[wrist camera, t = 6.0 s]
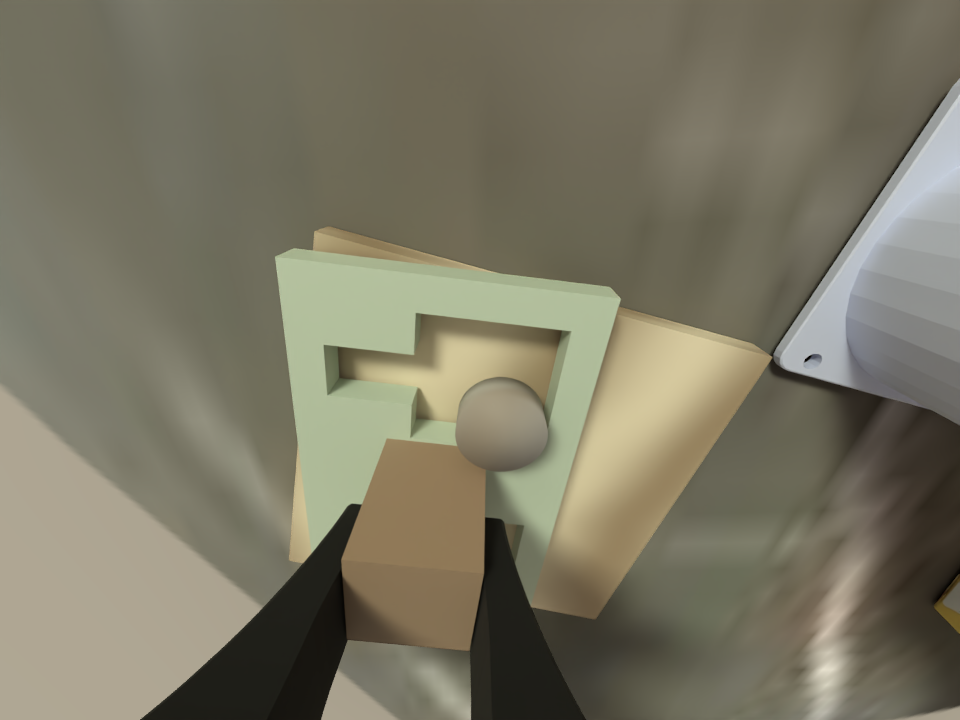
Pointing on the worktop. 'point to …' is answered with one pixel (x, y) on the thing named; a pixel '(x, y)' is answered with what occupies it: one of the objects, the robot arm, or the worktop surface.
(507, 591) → the robot arm
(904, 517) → the worktop surface
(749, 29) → the worktop surface
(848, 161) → the worktop surface
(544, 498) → the keyhole panel
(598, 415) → the stud board
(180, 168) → the worktop surface
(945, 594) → the candy box
